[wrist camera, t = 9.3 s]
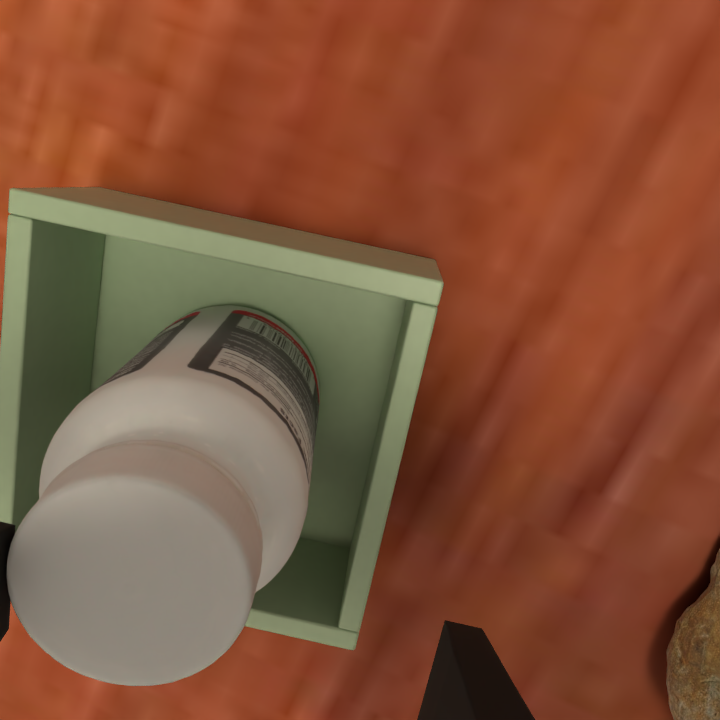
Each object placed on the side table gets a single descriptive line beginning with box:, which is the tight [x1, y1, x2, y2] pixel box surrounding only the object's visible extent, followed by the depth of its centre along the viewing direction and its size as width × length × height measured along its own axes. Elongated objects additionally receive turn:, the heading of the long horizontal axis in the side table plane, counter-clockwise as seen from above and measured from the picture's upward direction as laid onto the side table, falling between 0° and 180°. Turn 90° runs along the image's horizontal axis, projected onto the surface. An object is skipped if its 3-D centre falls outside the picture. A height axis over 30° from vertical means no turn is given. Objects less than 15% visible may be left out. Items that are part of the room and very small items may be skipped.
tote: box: [0, 187, 444, 650], centre depth 18 cm, size 10×10×4 cm
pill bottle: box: [6, 305, 320, 686], centre depth 15 cm, size 5×5×10 cm
